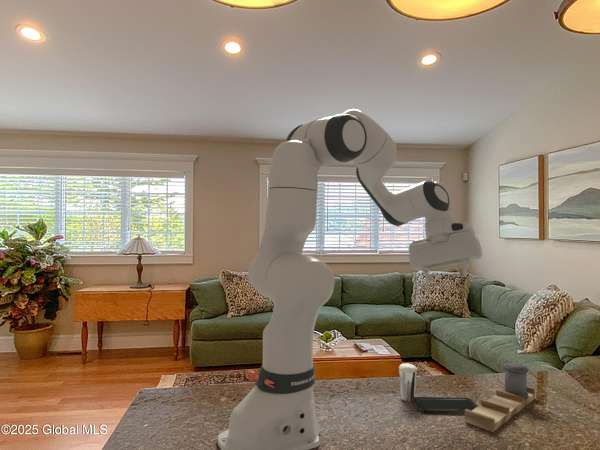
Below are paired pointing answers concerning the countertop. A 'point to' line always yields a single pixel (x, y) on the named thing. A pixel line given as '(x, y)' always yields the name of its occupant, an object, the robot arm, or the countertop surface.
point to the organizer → (498, 409)
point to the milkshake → (407, 381)
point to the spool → (516, 379)
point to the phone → (443, 405)
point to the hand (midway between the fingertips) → (446, 279)
